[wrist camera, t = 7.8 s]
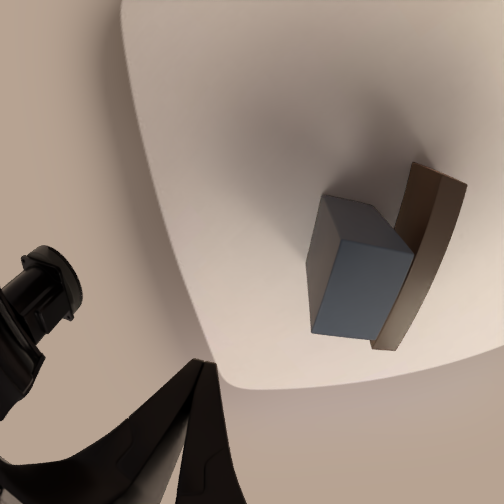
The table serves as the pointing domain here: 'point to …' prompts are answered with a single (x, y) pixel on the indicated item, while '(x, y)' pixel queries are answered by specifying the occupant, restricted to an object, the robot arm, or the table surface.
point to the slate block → (353, 269)
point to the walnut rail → (421, 244)
